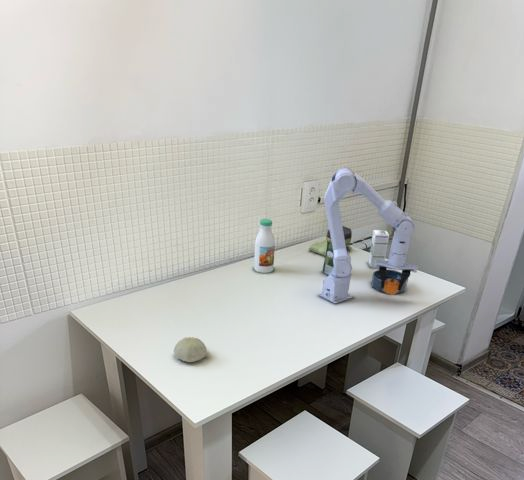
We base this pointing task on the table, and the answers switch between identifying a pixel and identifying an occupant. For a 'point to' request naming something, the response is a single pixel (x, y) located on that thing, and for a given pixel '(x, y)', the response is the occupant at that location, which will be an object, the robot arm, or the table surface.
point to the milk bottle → (264, 248)
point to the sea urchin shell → (190, 349)
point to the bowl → (389, 274)
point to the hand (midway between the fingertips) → (390, 288)
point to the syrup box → (378, 247)
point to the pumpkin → (391, 286)
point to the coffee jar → (329, 251)
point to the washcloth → (320, 247)
